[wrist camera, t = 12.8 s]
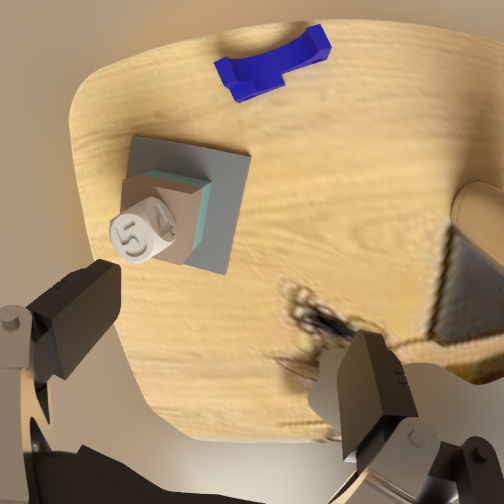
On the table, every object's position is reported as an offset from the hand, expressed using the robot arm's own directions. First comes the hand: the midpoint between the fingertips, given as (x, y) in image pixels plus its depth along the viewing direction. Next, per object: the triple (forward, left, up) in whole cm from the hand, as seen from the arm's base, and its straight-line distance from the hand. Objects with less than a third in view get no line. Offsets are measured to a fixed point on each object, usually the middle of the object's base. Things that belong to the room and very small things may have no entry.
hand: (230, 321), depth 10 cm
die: (+12, +6, -21) cm, 25 cm away
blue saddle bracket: (+3, -14, -30) cm, 34 cm away
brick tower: (+12, +6, -30) cm, 33 cm away
